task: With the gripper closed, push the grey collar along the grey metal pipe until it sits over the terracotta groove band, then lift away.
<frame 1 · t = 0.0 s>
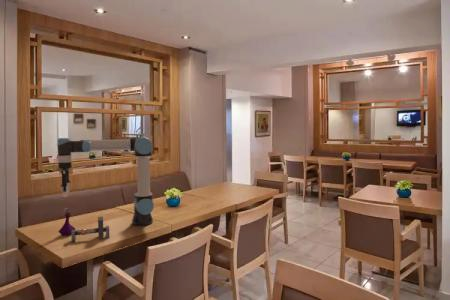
hand: (66, 194, 202), 28 cm above the table, fingers open, 13 cm apart
pipe stand: (91, 238, 200), on the table
perfume bottle: (67, 235, 208), on the table
collar: (100, 227, 202), point 7 cm above the table, slide at 0.0 cm
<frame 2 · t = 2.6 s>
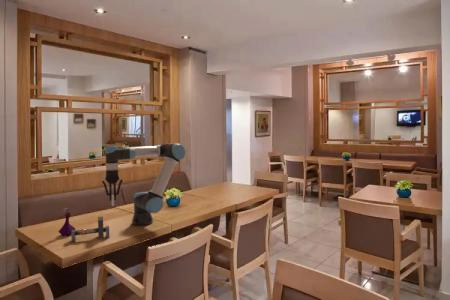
hand: (112, 205, 204), 20 cm above the table, fingers closed
nothing on the table moved.
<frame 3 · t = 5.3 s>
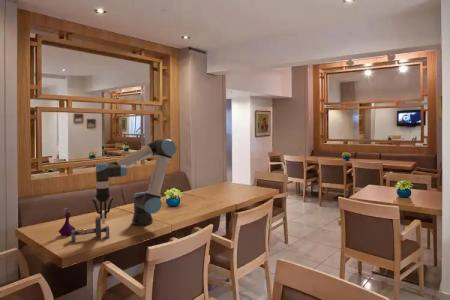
hand: (103, 223, 202), 9 cm above the table, fingers closed
collar: (98, 227, 201), point 7 cm above the table, slide at 1.5 cm, touching gripper
everything else where it was.
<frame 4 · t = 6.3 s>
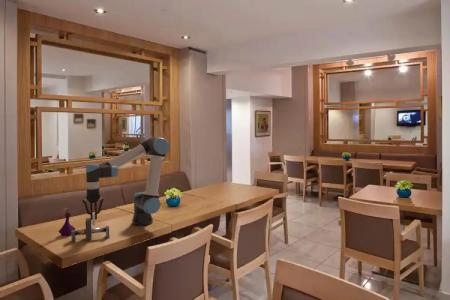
hand: (94, 224, 200), 9 cm above the table, fingers closed
collar: (88, 228, 199), point 7 cm above the table, slide at 7.2 cm, touching gripper
everything else where it was.
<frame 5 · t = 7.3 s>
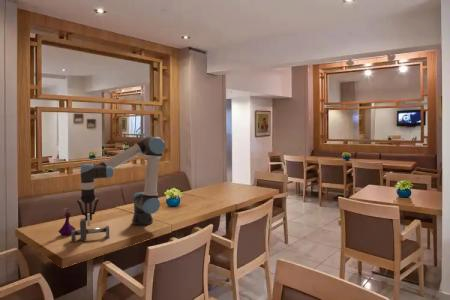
hand: (88, 225, 199), 9 cm above the table, fingers closed
collar: (83, 229, 198), point 7 cm above the table, slide at 10.3 cm, touching gripper
everything else where it was.
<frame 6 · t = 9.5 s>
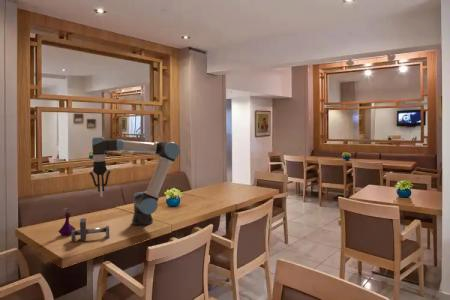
hand: (101, 196, 206), 26 cm above the table, fingers closed
collar: (83, 229, 198), point 7 cm above the table, slide at 10.3 cm
everything else where it was.
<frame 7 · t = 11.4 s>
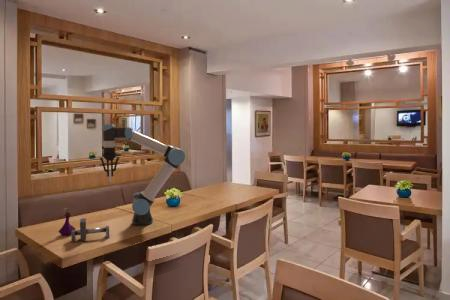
hand: (110, 181, 215), 34 cm above the table, fingers closed
nothing on the table moved.
at the end: collar slide at 10.3 cm; collar moved 10.3 cm from its start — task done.
